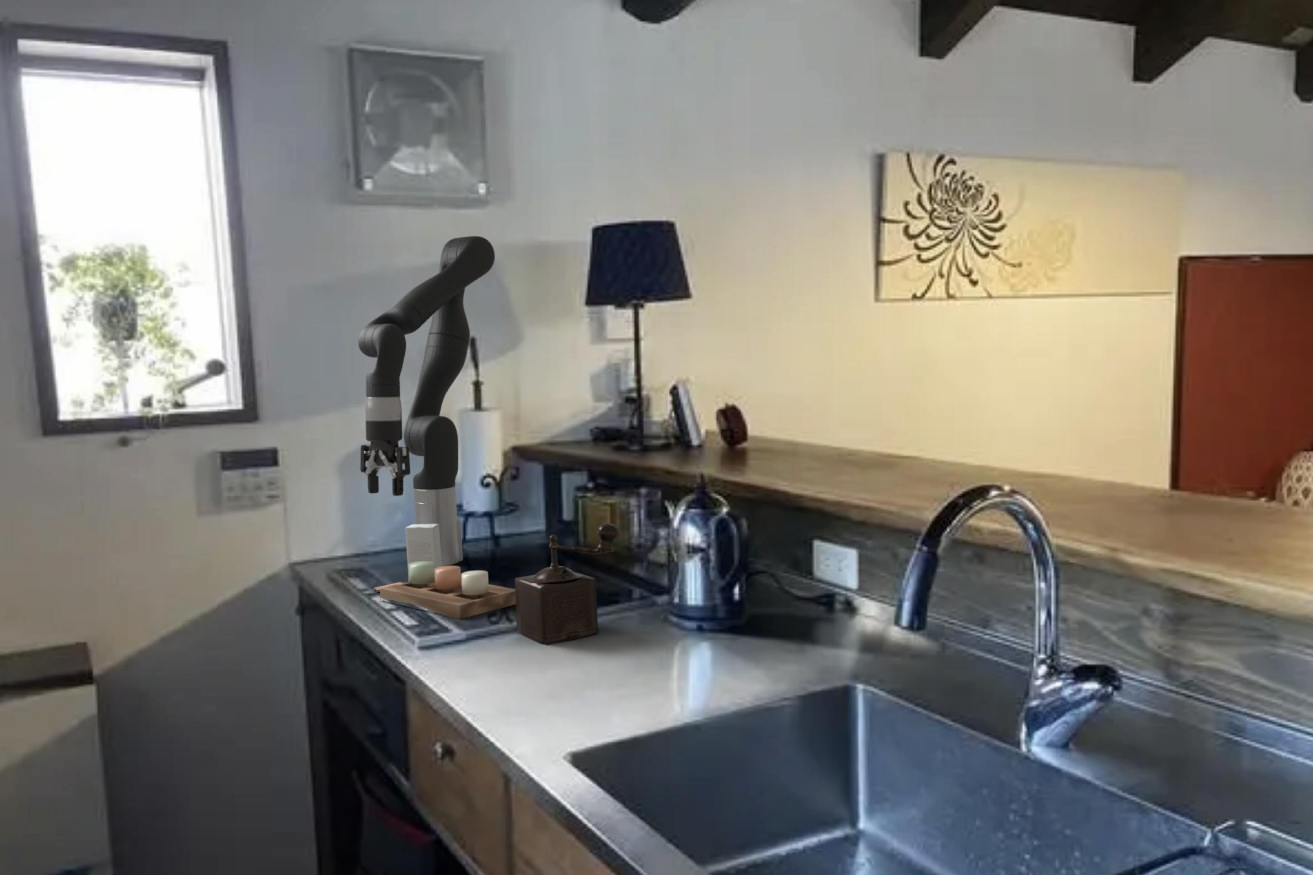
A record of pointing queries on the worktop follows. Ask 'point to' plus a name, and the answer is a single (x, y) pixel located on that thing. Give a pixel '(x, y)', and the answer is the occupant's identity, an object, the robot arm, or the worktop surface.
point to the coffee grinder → (560, 596)
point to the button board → (450, 598)
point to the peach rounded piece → (447, 577)
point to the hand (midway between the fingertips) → (385, 494)
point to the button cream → (475, 582)
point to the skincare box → (423, 544)
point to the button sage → (422, 572)
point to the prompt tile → (387, 585)
